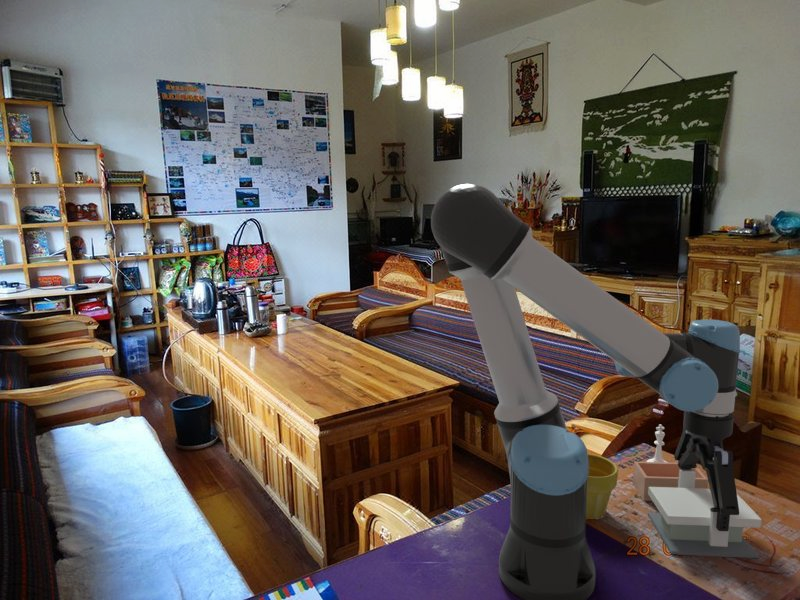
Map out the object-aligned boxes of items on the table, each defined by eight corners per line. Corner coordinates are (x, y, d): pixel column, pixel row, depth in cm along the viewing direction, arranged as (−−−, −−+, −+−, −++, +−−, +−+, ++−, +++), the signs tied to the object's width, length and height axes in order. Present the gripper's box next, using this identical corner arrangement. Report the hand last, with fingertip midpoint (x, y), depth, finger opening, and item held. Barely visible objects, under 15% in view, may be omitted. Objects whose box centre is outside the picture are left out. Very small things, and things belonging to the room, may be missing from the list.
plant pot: (620, 505, 110) (623, 459, 108) (609, 531, 101) (611, 482, 100) (568, 492, 115) (569, 448, 114) (553, 515, 107) (554, 468, 105)
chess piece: (641, 462, 128) (644, 421, 126) (661, 460, 128) (664, 419, 127) (653, 472, 123) (656, 429, 121) (674, 470, 124) (677, 428, 122)
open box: (643, 500, 111) (644, 477, 111) (632, 483, 118) (634, 461, 117) (706, 502, 110) (708, 479, 109) (691, 485, 117) (693, 463, 116)
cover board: (667, 524, 95) (668, 516, 94) (648, 494, 104) (648, 486, 104) (760, 527, 93) (761, 519, 93) (732, 496, 103) (732, 489, 102)
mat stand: (671, 554, 94) (672, 527, 93) (647, 515, 106) (649, 491, 105) (758, 558, 93) (760, 531, 92) (724, 518, 105) (726, 493, 104)
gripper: (772, 440, 83) (759, 567, 86) (700, 386, 107) (693, 487, 111) (719, 439, 84) (709, 565, 87) (660, 385, 108) (654, 486, 112)
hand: (700, 522), depth 99 cm, fingers open, 13 cm apart
